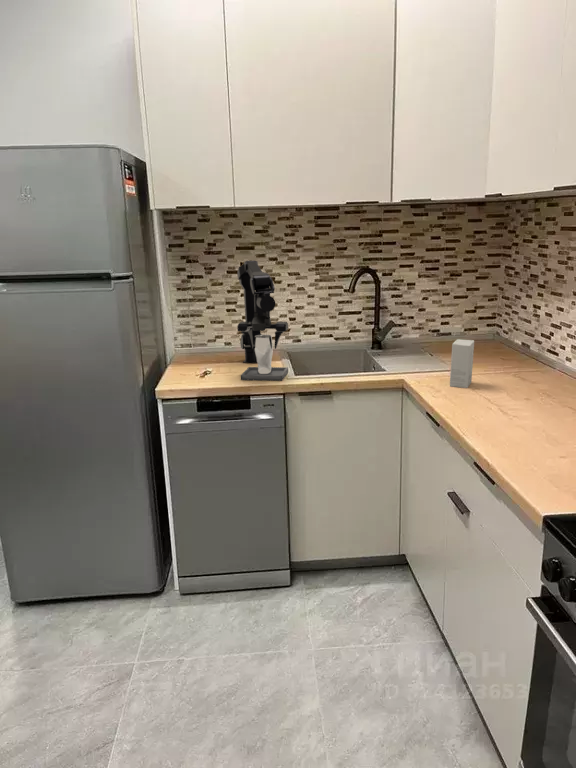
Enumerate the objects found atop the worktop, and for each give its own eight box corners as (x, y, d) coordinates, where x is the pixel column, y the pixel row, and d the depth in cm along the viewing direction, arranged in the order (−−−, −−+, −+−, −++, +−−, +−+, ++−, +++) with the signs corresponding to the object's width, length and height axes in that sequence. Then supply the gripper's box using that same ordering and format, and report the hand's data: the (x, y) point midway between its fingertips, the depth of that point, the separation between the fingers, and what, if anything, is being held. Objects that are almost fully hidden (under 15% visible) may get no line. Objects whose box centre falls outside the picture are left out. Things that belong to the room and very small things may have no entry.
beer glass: (271, 376, 225) (269, 338, 221) (253, 376, 226) (252, 337, 222) (275, 372, 231) (274, 334, 227) (258, 371, 233) (256, 334, 229)
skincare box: (454, 380, 215) (456, 338, 210) (473, 382, 212) (475, 340, 207) (449, 386, 207) (451, 343, 203) (468, 388, 204) (470, 344, 200)
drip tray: (249, 371, 237) (248, 366, 236) (288, 372, 234) (288, 367, 233) (240, 380, 224) (240, 375, 224) (282, 381, 221) (281, 375, 221)
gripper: (232, 311, 216) (234, 353, 220) (282, 311, 212) (283, 353, 217) (240, 306, 226) (242, 346, 231) (287, 306, 223) (289, 347, 227)
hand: (263, 348), depth 226 cm, fingers open, 9 cm apart
